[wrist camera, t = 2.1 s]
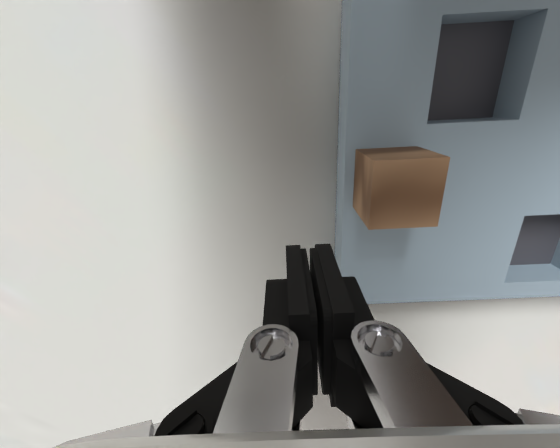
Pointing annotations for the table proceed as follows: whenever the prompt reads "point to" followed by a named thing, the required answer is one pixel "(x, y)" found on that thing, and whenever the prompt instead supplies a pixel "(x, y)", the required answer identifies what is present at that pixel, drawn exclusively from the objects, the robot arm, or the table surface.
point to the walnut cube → (399, 187)
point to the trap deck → (455, 145)
